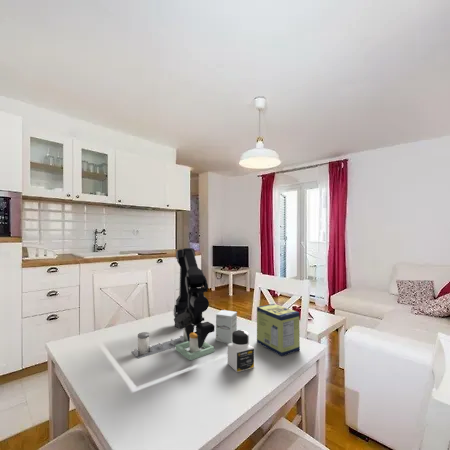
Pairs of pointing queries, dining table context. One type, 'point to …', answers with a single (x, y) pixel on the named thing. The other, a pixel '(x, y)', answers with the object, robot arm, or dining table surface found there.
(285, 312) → the protein box
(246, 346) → the medicine bottle
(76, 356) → the dining table surface
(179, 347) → the tray
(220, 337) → the supplement box
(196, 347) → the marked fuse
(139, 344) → the block
